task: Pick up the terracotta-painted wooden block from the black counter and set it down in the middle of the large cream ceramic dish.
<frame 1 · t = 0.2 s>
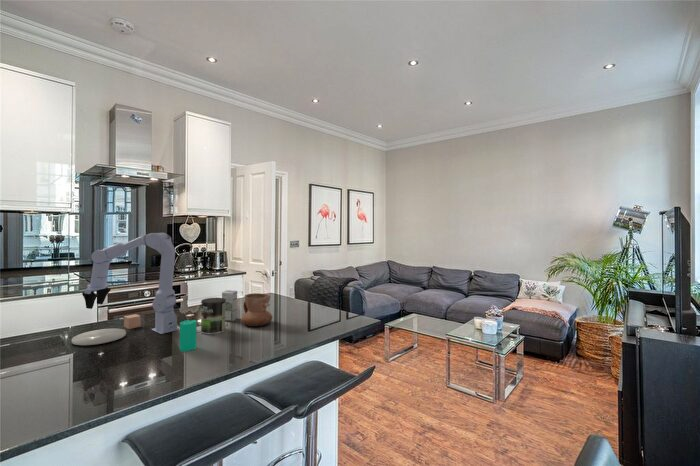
hand: (94, 306, 149), 11 cm above the counter, tool pointing down, fingers open, 7 cm apart
block: (132, 326, 154), on the counter
glass jar: (213, 331, 151), on the counter
ceramic jug: (256, 324, 162), on the counter
syrup box: (229, 320, 169), on the counter
candle: (188, 349, 129), on the counter
dish: (99, 338, 138), on the counter
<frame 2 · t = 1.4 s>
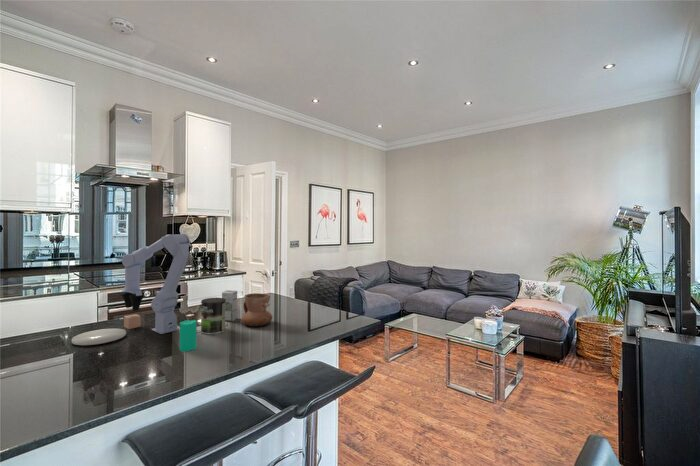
hand: (132, 308, 154), 8 cm above the counter, tool pointing down, fingers open, 7 cm apart
nothing on the counter moved.
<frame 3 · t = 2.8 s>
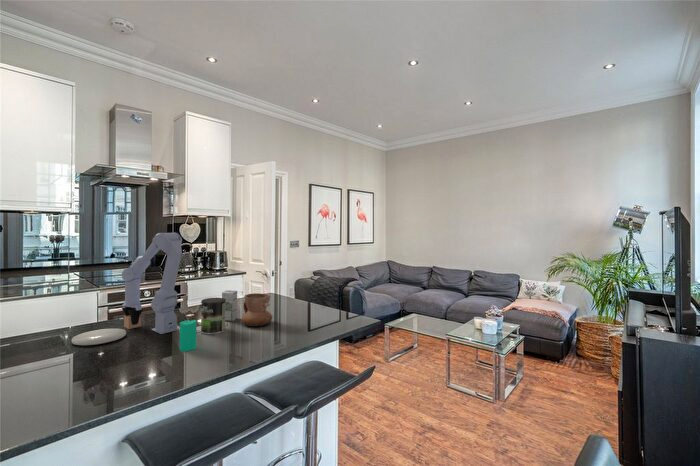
hand: (132, 323, 154), 2 cm above the counter, tool pointing down, fingers closed on block, 5 cm apart
block: (132, 326, 154), on the counter, touching gripper
everything else where it was.
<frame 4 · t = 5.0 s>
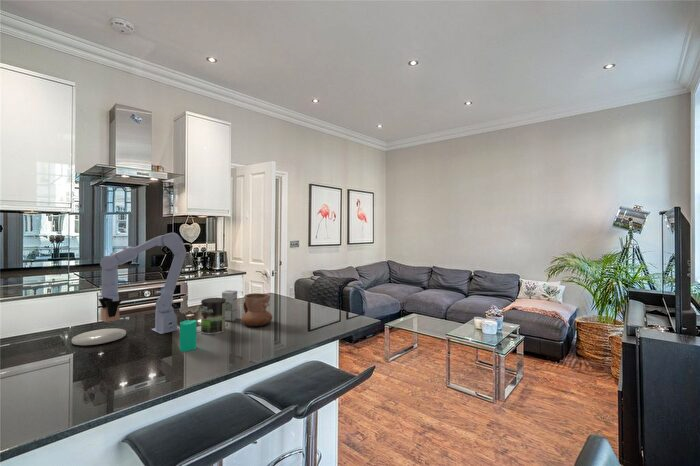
hand: (109, 315, 142), 8 cm above the counter, tool pointing down, fingers closed on block, 5 cm apart
block: (110, 319, 142), point 7 cm above the counter, touching gripper
everything else where it was.
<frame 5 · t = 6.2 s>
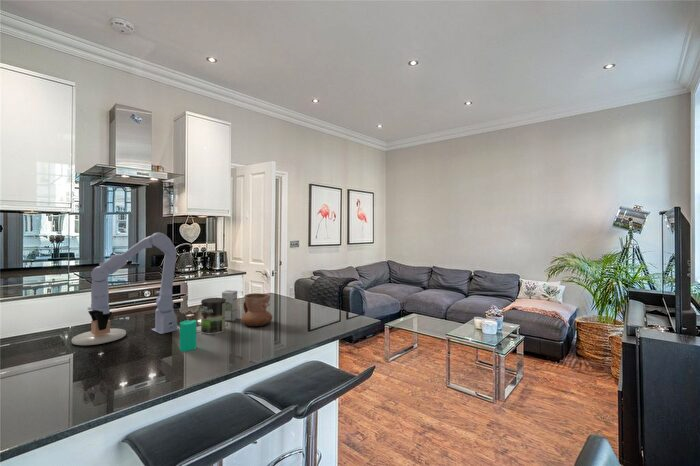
hand: (100, 328, 138), 4 cm above the counter, tool pointing down, fingers closed on block, 5 cm apart
block: (100, 332, 138), point 2 cm above the counter, touching gripper
everything else where it was.
when the fingers open (4 cm above the counter, at t = 7.0 s): block stays where it is, resting on dish.
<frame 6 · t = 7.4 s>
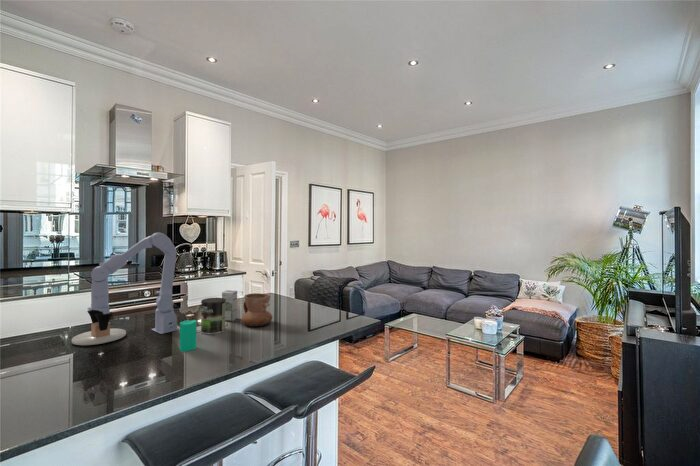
hand: (99, 328, 138), 4 cm above the counter, tool pointing down, fingers open, 7 cm apart
block: (100, 335, 138), point 1 cm above the counter, touching dish
everything else where it was.
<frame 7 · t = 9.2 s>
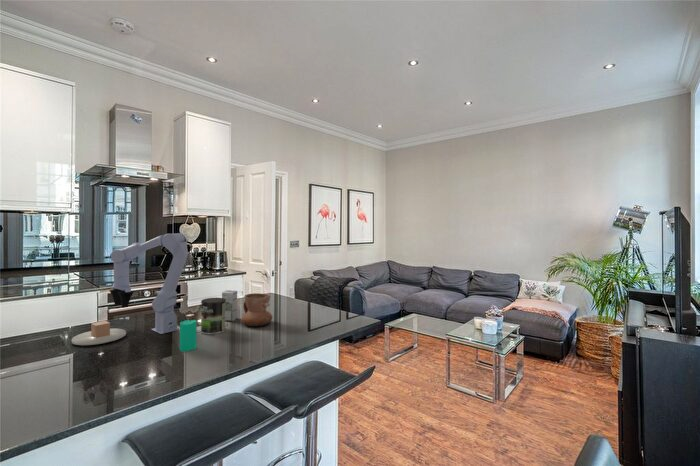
hand: (121, 305, 151), 10 cm above the counter, tool pointing down, fingers open, 7 cm apart
nothing on the counter moved.
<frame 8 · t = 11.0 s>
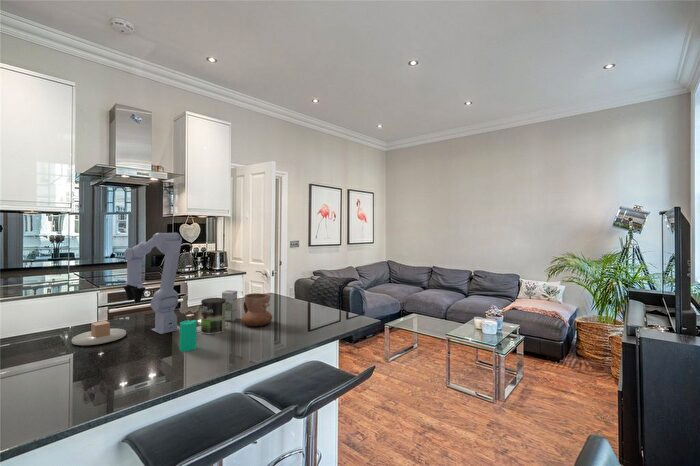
hand: (134, 301, 160), 10 cm above the counter, tool pointing down, fingers open, 7 cm apart
nothing on the counter moved.
at the end: block inside the target area on the dish (0.2 cm from its centre), point 1.5 cm above the dish's base; block tilted 0°; the gripper is holding nothing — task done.
